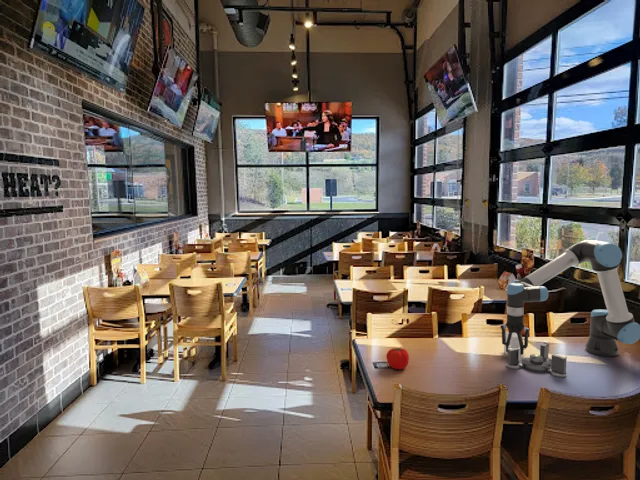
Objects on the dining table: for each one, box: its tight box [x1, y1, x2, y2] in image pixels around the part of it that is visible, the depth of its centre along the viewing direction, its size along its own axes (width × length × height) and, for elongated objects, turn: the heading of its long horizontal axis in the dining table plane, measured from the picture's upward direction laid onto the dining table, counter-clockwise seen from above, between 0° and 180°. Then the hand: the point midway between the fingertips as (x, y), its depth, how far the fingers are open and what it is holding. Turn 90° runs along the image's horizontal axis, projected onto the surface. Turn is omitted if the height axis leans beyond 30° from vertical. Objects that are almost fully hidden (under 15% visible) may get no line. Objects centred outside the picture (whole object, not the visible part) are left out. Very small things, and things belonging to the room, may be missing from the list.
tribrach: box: [505, 353, 567, 378], centre depth 217 cm, size 25×24×6 cm
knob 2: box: [539, 340, 550, 360], centre depth 224 cm, size 6×2×8 cm, turn 134°
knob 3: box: [550, 353, 568, 374], centre depth 207 cm, size 6×2×8 cm, turn 34°
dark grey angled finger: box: [507, 348, 520, 365], centre depth 218 cm, size 6×2×8 cm, turn 113°
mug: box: [503, 331, 527, 356], centre depth 235 cm, size 9×12×11 cm
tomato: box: [385, 347, 410, 370], centre depth 219 cm, size 11×13×10 cm
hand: (514, 359), depth 218 cm, fingers open, 4 cm apart
